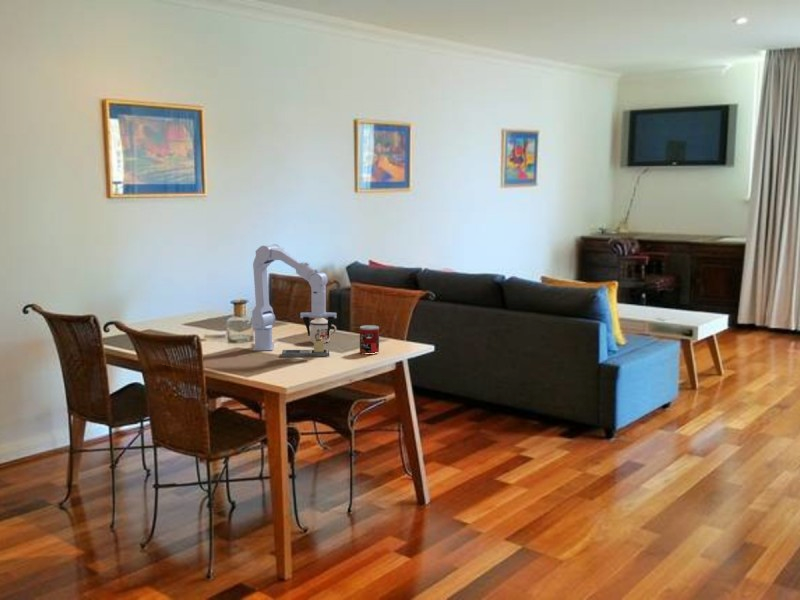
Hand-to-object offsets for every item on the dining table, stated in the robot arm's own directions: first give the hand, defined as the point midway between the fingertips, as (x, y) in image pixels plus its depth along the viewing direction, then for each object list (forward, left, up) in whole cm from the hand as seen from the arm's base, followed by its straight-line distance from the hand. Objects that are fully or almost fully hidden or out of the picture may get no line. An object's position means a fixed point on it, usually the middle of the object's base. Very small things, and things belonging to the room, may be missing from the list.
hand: (318, 335), depth 319 cm
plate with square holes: (0, -5, -8) cm, 10 cm away
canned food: (-3, +21, -8) cm, 23 cm away
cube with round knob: (0, 0, -8) cm, 8 cm away
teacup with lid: (-28, +2, -8) cm, 29 cm away
